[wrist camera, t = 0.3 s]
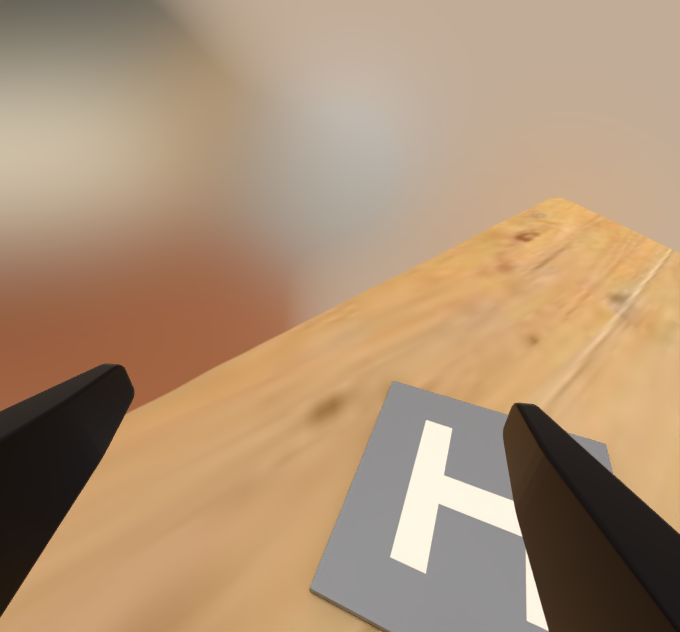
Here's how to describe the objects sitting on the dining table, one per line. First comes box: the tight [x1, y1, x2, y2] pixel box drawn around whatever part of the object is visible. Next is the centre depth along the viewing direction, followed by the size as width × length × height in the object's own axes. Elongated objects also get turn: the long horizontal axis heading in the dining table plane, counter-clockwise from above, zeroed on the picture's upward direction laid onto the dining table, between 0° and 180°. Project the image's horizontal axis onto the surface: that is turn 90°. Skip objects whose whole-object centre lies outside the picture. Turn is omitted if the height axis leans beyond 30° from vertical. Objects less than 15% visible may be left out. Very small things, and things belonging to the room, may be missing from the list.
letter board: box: [310, 381, 613, 632], centre depth 22 cm, size 16×16×1 cm
